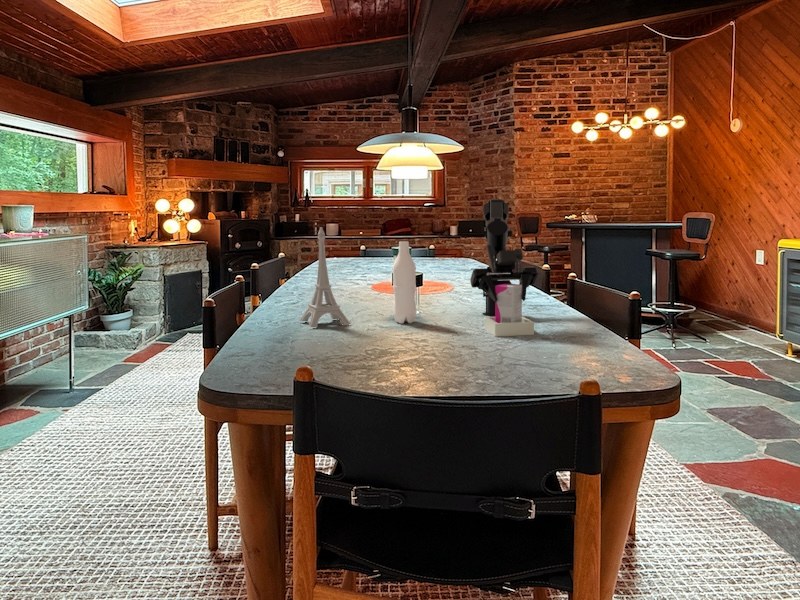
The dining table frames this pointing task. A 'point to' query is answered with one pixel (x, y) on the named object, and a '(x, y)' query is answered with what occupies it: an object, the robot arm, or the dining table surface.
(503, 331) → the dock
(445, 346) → the dining table surface
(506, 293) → the supplement box
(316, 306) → the eiffel tower
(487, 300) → the robot arm
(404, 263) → the water bottle
